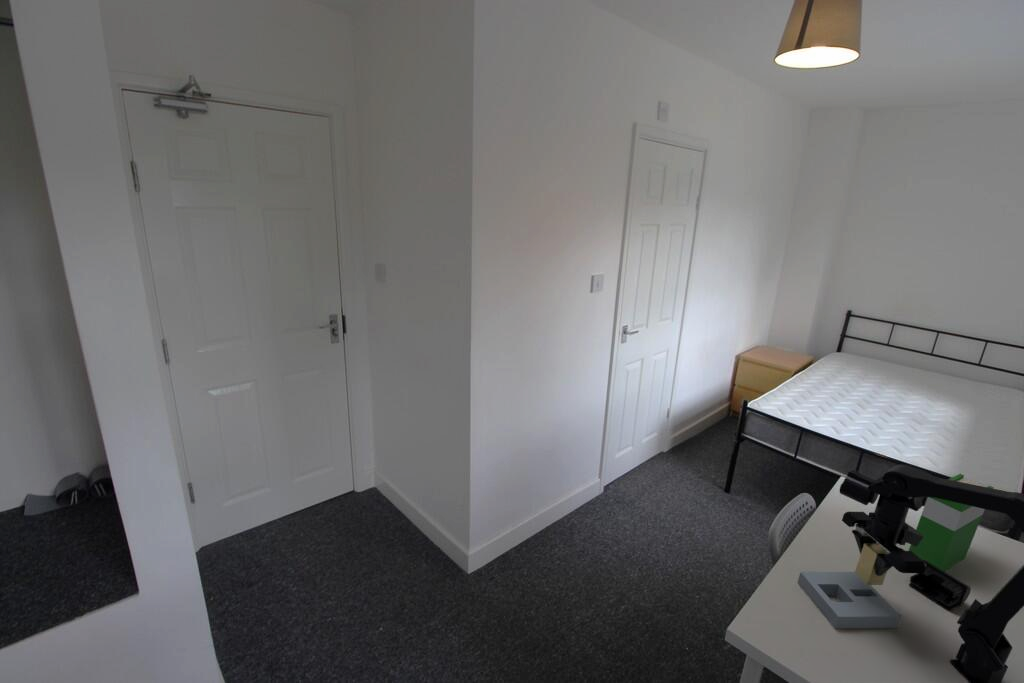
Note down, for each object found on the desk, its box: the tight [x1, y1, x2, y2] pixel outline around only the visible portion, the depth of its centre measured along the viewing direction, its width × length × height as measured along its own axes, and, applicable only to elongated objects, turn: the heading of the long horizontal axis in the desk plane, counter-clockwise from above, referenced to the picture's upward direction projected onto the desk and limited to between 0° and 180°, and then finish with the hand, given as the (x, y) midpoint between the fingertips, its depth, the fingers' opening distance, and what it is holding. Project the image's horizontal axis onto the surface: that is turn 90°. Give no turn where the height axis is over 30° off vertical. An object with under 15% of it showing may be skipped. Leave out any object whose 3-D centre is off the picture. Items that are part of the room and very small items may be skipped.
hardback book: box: [908, 473, 995, 572], centre depth 134 cm, size 18×7×24 cm, turn 117°
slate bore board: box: [797, 571, 902, 629], centre depth 119 cm, size 14×16×4 cm
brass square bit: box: [854, 543, 888, 586], centre depth 116 cm, size 4×4×9 cm
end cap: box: [908, 560, 972, 612], centre depth 123 cm, size 10×7×7 cm
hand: (871, 568), depth 117 cm, fingers closed on brass square bit, 4 cm apart
